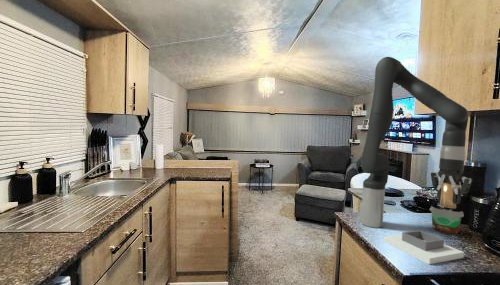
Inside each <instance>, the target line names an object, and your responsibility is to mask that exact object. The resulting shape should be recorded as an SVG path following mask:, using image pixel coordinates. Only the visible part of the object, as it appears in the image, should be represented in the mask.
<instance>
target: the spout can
mask: <svg viewBox="0 0 500 285" xmlns="http://www.w3.org/2000/svg"><path fill="white" fill-rule="evenodd" d="M456 185H457V186H458V184H456ZM454 194H455V192H454V189H453V188H452V184H448V183H444V182H443V183H442V186H441V197H440V200H439V206H440V207H443V208H446V209H447V208H448V209H457V204H454V203H453V199H454Z"/></svg>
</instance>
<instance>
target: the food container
mask: <svg viewBox="0 0 500 285" xmlns="http://www.w3.org/2000/svg"><path fill="white" fill-rule="evenodd" d="M429 211H430V212H431V223H432V224H431V225H432V226H431V227H432V229H433V230H434V231H437V232H439V233H442V234H447V235H457V234H458V235H459V230H460V226H461V221H462V218H464V215H465V213H464V212H463V210H462V211H455V210H454V211H453V210H450V209H447V208H446V209H445V208H444V209H443V208H436V207H434V206H433V205H431V206H430V208H429Z"/></svg>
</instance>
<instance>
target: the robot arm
mask: <svg viewBox="0 0 500 285" xmlns="http://www.w3.org/2000/svg"><path fill="white" fill-rule="evenodd" d="M374 70H375V72H374V73H375V74H374V90H373V96H372V99H371V100H372V102H371V107H370V113H369V119H368V125H367V126H368V127H367V131H366V132H367V133H366V138H365V143H364V146H363V150H362V154H361V158H360V167H361V169H362V170H363V172H364V173H366V174H369V175H368V177H367V178H365V179H364V180H363V182H362V198H361V200H362V201H360V204H359V218H358V221H359V222H360V223H361V224H362V225H363V226H366V227H370V228H375V229H377V228H382V227H383V224H384V213H385V212H384V210H385V195H386V185H387V183H388V180H389V172H390V160H389V157H388V156H387V155H386V154H385V153H382V152H379V151H380V147H381V144H382V141H383V140H384V138H385V136H386V135H387V134H388V132H389V131H390V129H391V127H392V124H393V117H394V109H395V108H394V98H393V89H394V88H393V86H394V84H395V85H397V86H400V87H401V88H402V89H404V90H406V91H407V93H408V94H410V95H411V96H413V98H414V99H416V100H417V101H418V102H420V103H421V104H422V105H423V106H425V107H427V108H428V109H430V110H432V111H433V112H434V113H435V114H436V115H438V116H439V117H441V118H442V119H443V120H445V125H444V131H443V132H442V141H441V148H440V153H439V163H438V164H439V167H438V168H439V171H438V172H435V171H433V172H430V177H431V184H432V185H431V186H432V187H433V188H435V189H436V190H437V193H436V194H437V195H436V198H437V200H438V201H440V197H441V186H442V183H443V182H444V183H448V184H452V188H453V189H454V192H455V194H454V199H453V203H454V204H456V205H459V204H460V203H461V200H462V195H463V194H465V195H466V194H468V193H469V190H470V188H471V185H472V184H473V178H471V177H469V178H468V177H466V176H465V175H464V170H465V159H466V136H467V135H466V131H467V128H468V127H467V126H468V122H469V111H468V109H467V108H466V107H464V106H463V105H461V104H460V103H458V102H457V101H455V100H453V99H451V98H449V97H447V96H446V94H445V93H443V92H441V91H440V90H439V89H437V88H435V87H433V86H432V85H430V84H429V83H427V82H425V81H424V80H422V79H420V78H418V77H417V76H415V75H414V74H413V73H411V72H410V71H409V70H408V69H407V68H406V66H404V64H402V62H401V61H400V60H398V59H397V58H395V57H393V56H385V57H382V58H381V59H380V60H379V61H378V62H377V64H376V67H375V69H374ZM439 178H440V180H439ZM461 182H462V183H463V184H461ZM456 184H458V186H457V185H456Z"/></svg>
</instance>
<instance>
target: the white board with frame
mask: <svg viewBox="0 0 500 285" xmlns="http://www.w3.org/2000/svg"><path fill="white" fill-rule="evenodd" d="M401 233H402V234H394V235H388V236H387V235H386V236H384V238H383V239H384V240H383V242H384V243H385V244H388V245H390V246H392V247H394V248H396V249H398V250H399V251H402V252H404V253H406V254H408V255H409V256H412V257H414V258H416V259H418V260H420V261H421V262H423V263H426V264H428V265H434V264H437V263H443V262H450V261H453V260H458V259H459V260H460V259H464V256H465V252H464V251H462V250H460V249H457V248H456V247H452V246H450V245H447V244H445V243H444V242H445V239H443V238H441V237H438V236H436V235H433V234H430V233H428V232H425V231H422V230H418V229H417V230H413V231H405V232H401Z"/></svg>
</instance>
